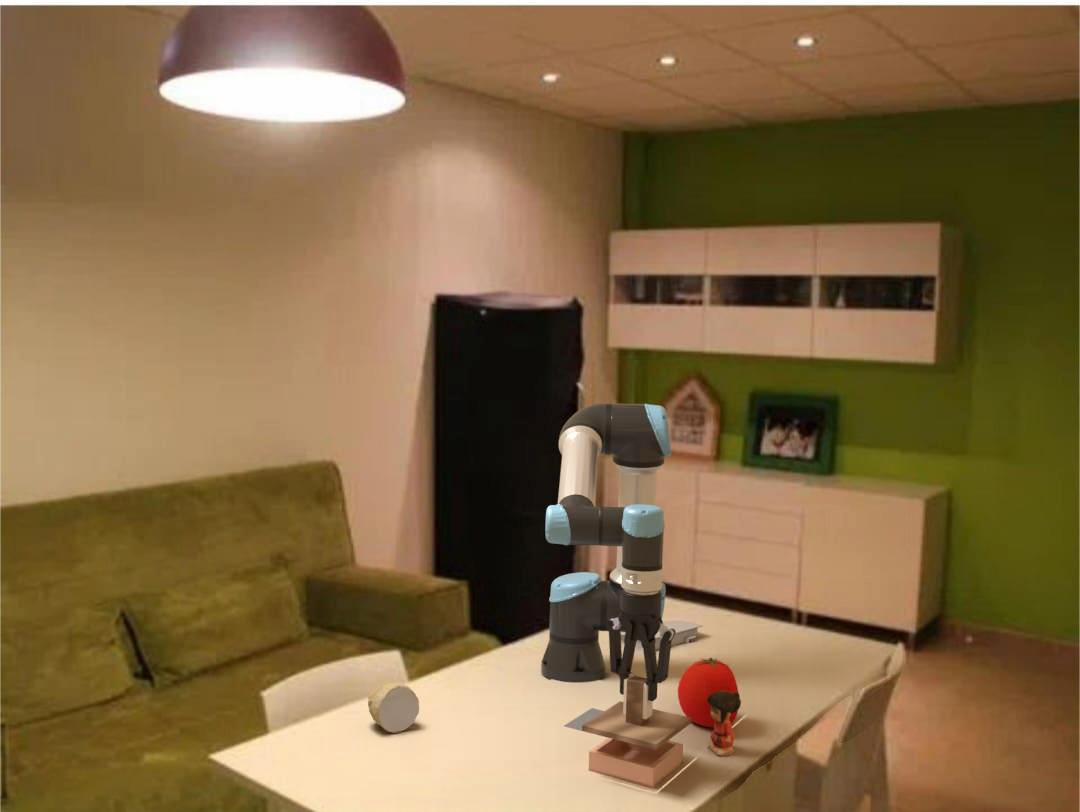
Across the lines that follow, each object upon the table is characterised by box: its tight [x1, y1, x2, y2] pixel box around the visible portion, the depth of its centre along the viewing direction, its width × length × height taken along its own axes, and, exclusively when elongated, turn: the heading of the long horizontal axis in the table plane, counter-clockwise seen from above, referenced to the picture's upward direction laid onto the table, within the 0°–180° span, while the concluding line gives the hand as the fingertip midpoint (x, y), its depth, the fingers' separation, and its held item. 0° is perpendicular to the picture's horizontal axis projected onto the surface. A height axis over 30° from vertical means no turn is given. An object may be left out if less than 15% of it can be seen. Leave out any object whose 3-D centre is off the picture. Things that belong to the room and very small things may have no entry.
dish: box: [588, 737, 684, 789], centre depth 194 cm, size 13×13×4 cm
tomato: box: [677, 657, 739, 729], centre depth 215 cm, size 13×11×14 cm
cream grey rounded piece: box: [367, 681, 420, 734], centre depth 211 cm, size 10×10×10 cm
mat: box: [563, 707, 608, 739], centre depth 214 cm, size 12×12×1 cm
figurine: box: [707, 690, 742, 757], centre depth 203 cm, size 6×6×12 cm
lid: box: [581, 675, 692, 750], centre depth 193 cm, size 15×15×9 cm
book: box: [621, 620, 704, 651], centre depth 273 cm, size 15×23×4 cm, turn 131°
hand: (637, 714), depth 193 cm, fingers closed on lid, 3 cm apart
